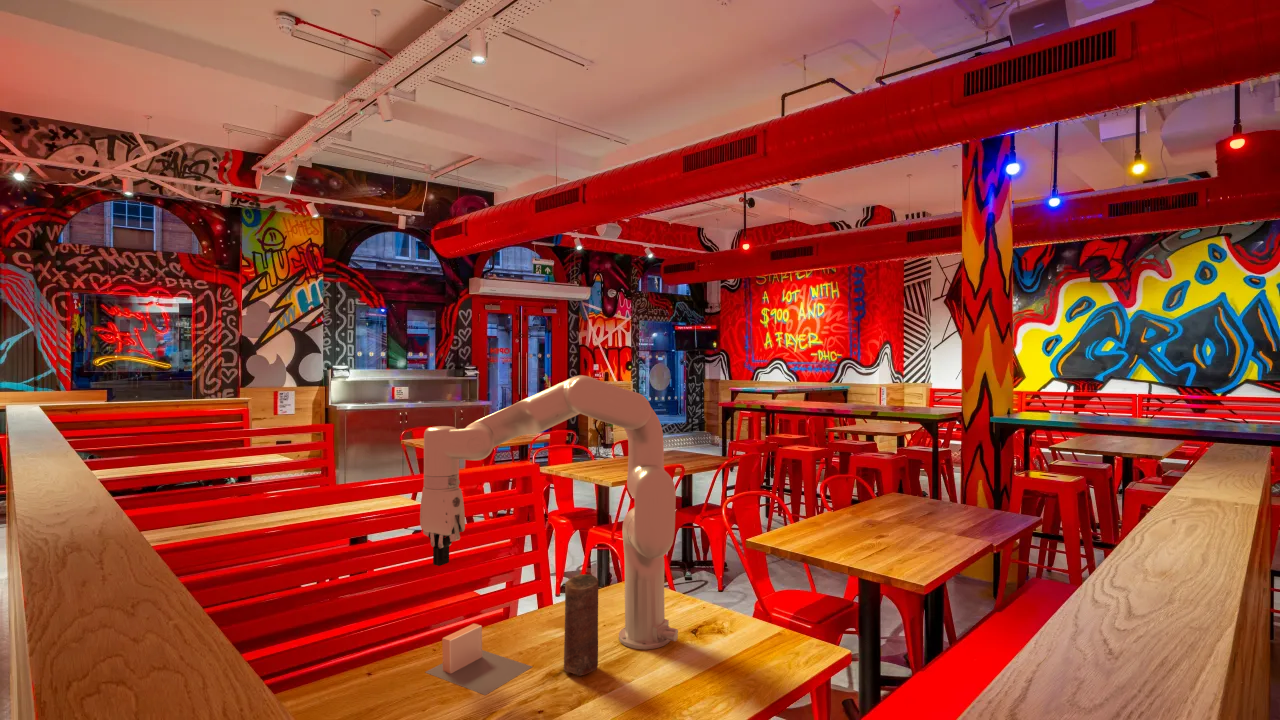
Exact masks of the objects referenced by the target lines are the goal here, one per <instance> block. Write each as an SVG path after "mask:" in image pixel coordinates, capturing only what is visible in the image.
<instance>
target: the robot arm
mask: <svg viewBox="0 0 1280 720" xmlns="http://www.w3.org/2000/svg"><path fill="white" fill-rule="evenodd" d="M578 415H583V416H585V417H587V418H588V417H589V418H592V419H594V420H597V421H600V422H604V423H606V424H611V425H613V426H617V427H620V428H623V429H624V430H625V432H626V436H627V441H628V442H627V443H628V444H627V445H628V455H627V457H628V458H627V460H628V461H627V478H626V481H627V482H626V488H627V490H628V493H629V495H631V497H632V498H633V499H634V506H633V508H631V509H629V511H628V512H627V513H626V514H625V516H624V518H623V521H622V531H621V532H622V541H623V542H622V543H623V553H624V554H623V555H624V557H623V558H624V627H623V628H622V629H620V631H619V632H618V640H619V642H620V643H621V644H622V645H624V646H625V647H628V648H631V649H635V650H654V649H659V648H662V647H664V646H666V645H667V644H669V643H670V642H671V641H672V642H677V641H678V637H679V629H678V628H674V627H670V626H669V625H670V624H669V619H666V618H665V617H666V616H665V613H666V612H665V558H664V557H665V555H666V554H667V553H668V552H669V551H670V550H671V547H672V546H673V544H674V539H675V533H676V531H675V530H676V506H677V505H676V504H677V503H676V502H677V501H676V500H677V498H676V497H677V496H676V495H677V494H676V486H675V482H674V480H673V478H672V476H671V475H670V474H669V472H667V471H666V470H665V453H664V452H665V451H664V447H665V445H664V433H663V427H662V425H661V421H660V419H659V417H658V415H657V414H656V412H655V411H654V409H653V408H652V407H651V404H650V402H649V400H648V399H647V398H646V397H645V396H644V395H643V394H641V393H639V392H636V391H633V390H628V389H625V388H623V387H620V386H616V385H613V384H611V383H610V384H609V383H607V382H605V381H602V380H599V379H596V378H594V377H592V376H588V375H582V374H579V375H575V376H573V377H570V378H568V379H566V380H564V381H562V382H559V383H557V384H555V385H553V386H551V387H548V388H546V389H544V390H542V391H539V392H537V393H536V394H535V393H534V394H533V395H531V396H528V397H526V398H524V399H522V400H520V401H517V402H516V403H514V404H511V405H510V406H507V407H505V408H502V409H500V410H498V411H495V412H493V413H491V414H488V415H486V416H485V417H482V418H480V419H477V420H475V421H474V422H472V423H470V424H468V425H467V426H466V427H465V428H456V427H455V426H448V425H441V426H440V425H437V426H432V427H431V426H430V427H427V428H426V429H425V430H424V433H423V488H422V491H421V492H422V493H421V499H420V510H419V511H420V513H419V522H420V523H419V524H420V528H421V529H422V534H423V535H424V536H426V537H428V538H429V540H430V545H431V547H432V549H433V550H432V564H433V566H438V567H440V566H443V565H446V564H448V563H450V546H451V545H452V543H453V542H456V541H460V539H461V535H460V533H461V532H464V531H465V529H466V520H465V519H466V517H465V516H466V515H465V505H464V503H465V502H464V496H463V492H462V488H461V487H460V483H461V481H460V474H459V473H460V460H466V461H482V460H484V459H486V458H487V457H488V456H490V454H492V452H493V449H494V448H495V447H498V446H500V445H501V444H505V443H506V442H508V441H510V440H512V439H514V438H518V437H522V436H525V435H535V434H538V433H542V432H545V431H547V430H548V429H550V428H552V427H554V426H557V425H559V424H562V423H563V422H565V421H567V420H570V419H573V418H574V417H576V416H578Z"/></svg>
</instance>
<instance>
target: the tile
mask: <svg viewBox="0 0 1280 720" xmlns="http://www.w3.org/2000/svg"><path fill="white" fill-rule="evenodd" d="M441 641H442V663H443V671H445V672H448V673H453V672H455V671H457V670H459V669H461V668H462V667H464V666H466V665H468V664H470V663H472V662H474V661H476V660H477V659H479V658H481V657H482V650H483V626H482V625H480V624H478V623H471V624H470V625H468V626H466V627H464V628H460V629H459V630H457V631H455V632H453V633H450V634H448V635H446V636H444V637H442V640H441Z"/></svg>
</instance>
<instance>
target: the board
mask: <svg viewBox="0 0 1280 720" xmlns="http://www.w3.org/2000/svg"><path fill="white" fill-rule="evenodd" d="M532 668H533V666H532V665H528V664H527V663H523V662H520V661H516V660H514V659H512V658H511V659H510V658H508V657H505V656H502V655H499V654H496V653H492V652H490V651H486V650H484V649H482V657H481V658H479V659H477V660H476V661H474V662H472V663H470V664H468V665H466V666H464V667H462V668H461V669H459V670H457V671H455V672H453V673H448V672H445V671H443V662H442V663H441V664H438V665H436V666H435V667H432V668H430V669H428V670H426V671H425V672H424V673H425V674H427V675H430V676H433V677H435V678H438V679H441V680H444V681H446V682H449V683H452V684H453V685H454V684H455V685H457V686H460V687H462V688H465V689H468V690H471V691H473V692H476V693H478V694H481V695H484V696H487V695H489V694H490V693H492V692H493V691H495V690H497V689H499V688H500V687H502V686H503V685H505V684H507V683H509V682H510V681H512V680H513V679H515V678H517V677H518V676H520V675H522V674H524V673H525V672H526V671H528V670H530V669H532Z"/></svg>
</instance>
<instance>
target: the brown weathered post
mask: <svg viewBox="0 0 1280 720" xmlns="http://www.w3.org/2000/svg"><path fill="white" fill-rule="evenodd" d="M564 583H565V587H564V591H565V592H564V594H565V595H564V641H563V642H564V643H563V644H564V646H563V647H564V648H563V649H564V650H563V669H564V671H565V672H566V673H571V674H573V675H574V676H578V677H581V676H585V675H587V674H589V673H591V672H593V671H596V670H597V669H598V666H599V579H598V578H597V576H595V575H593V574H584V573H583V574H582V573H581V574H577V575H574V576H572V577H570V578H569V579H567V580H566V581H565V582H564Z"/></svg>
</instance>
